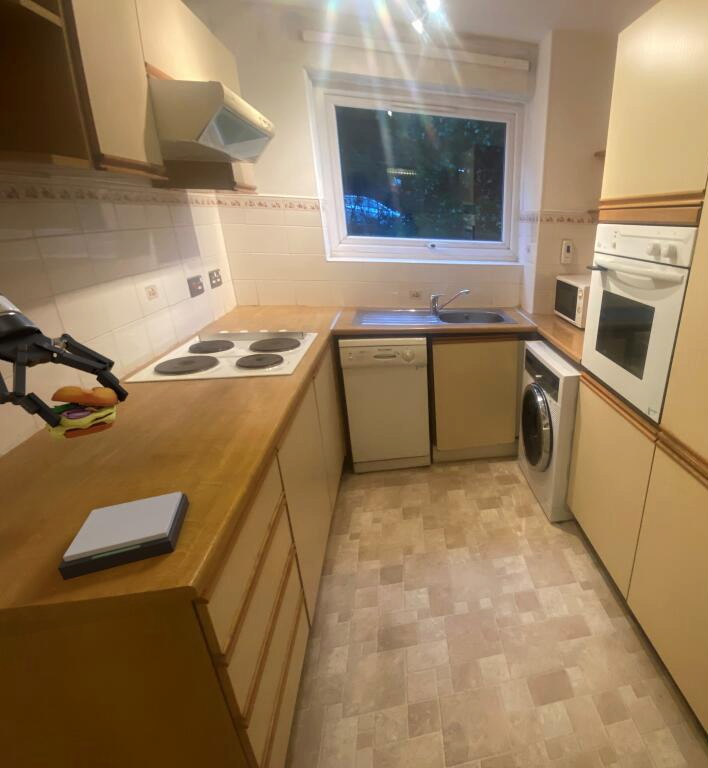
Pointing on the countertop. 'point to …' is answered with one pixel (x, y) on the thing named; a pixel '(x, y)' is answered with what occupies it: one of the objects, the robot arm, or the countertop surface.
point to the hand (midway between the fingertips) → (93, 409)
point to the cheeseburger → (83, 411)
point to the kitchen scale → (126, 534)
